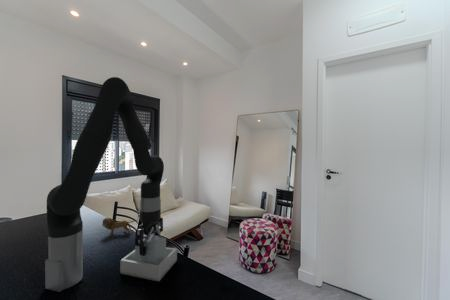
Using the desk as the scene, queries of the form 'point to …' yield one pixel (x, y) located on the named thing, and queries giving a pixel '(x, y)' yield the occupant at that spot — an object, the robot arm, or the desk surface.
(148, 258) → the skincare box
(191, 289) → the desk surface
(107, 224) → the lion figurine
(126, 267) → the tray
